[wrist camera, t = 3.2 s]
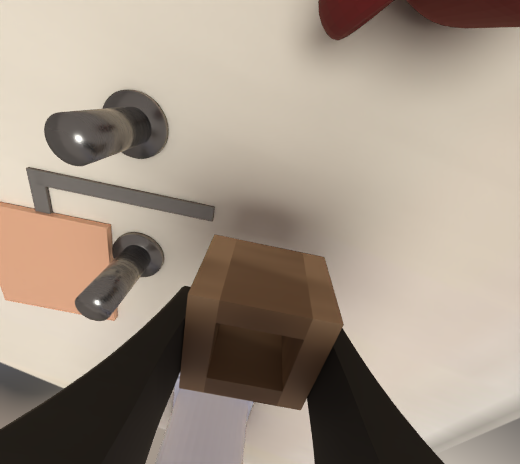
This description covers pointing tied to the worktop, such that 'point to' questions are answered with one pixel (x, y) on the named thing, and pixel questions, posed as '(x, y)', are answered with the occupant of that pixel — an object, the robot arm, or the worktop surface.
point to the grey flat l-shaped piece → (108, 194)
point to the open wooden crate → (258, 323)
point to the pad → (50, 256)
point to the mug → (428, 5)
